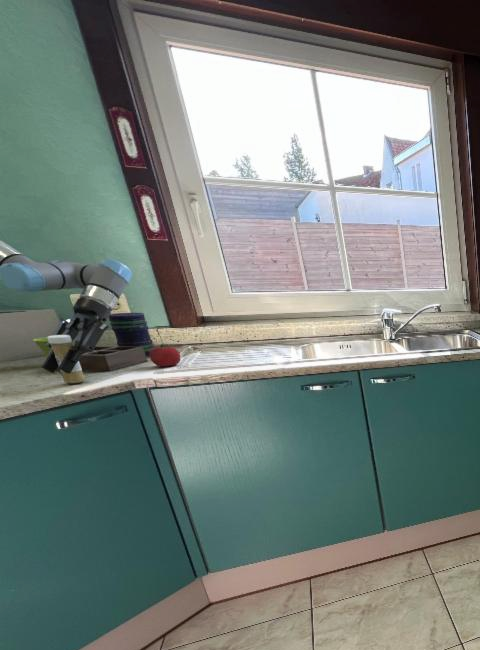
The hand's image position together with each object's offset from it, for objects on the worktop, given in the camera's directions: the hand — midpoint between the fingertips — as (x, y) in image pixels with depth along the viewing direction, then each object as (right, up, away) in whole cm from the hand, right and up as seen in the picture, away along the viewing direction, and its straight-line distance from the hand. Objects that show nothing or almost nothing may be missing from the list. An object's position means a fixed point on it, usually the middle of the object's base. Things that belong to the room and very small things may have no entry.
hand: (56, 370), depth 139 cm
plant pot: (-27, +6, +27) cm, 39 cm away
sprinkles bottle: (0, -3, +5) cm, 6 cm away
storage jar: (-16, +12, +42) cm, 46 cm away
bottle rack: (-13, +6, +26) cm, 30 cm away
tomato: (+7, +6, +28) cm, 30 cm away
